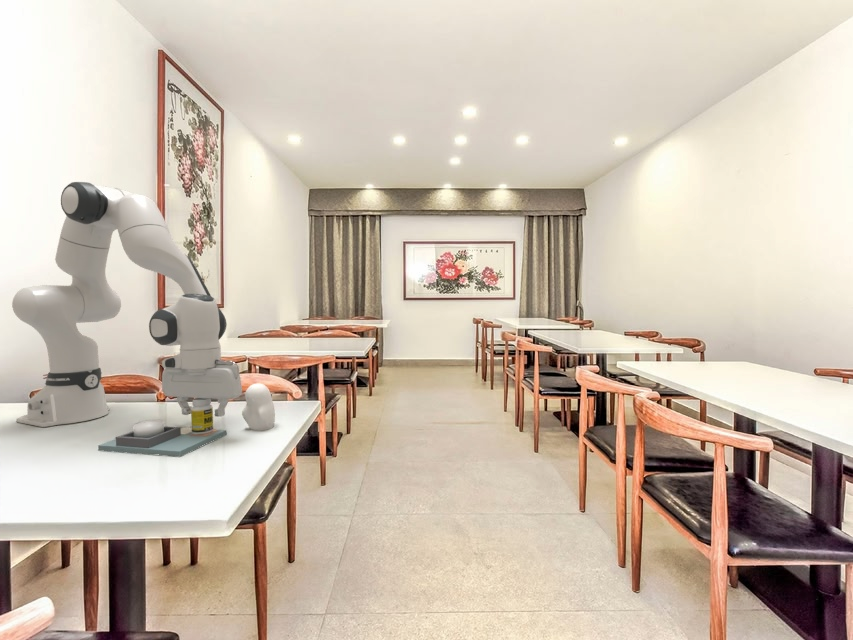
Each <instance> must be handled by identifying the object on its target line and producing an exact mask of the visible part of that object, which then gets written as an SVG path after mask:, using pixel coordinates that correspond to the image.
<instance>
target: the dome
mask: <svg viewBox="0 0 853 640" xmlns="http://www.w3.org/2000/svg"><path fill="white" fill-rule="evenodd" d="M164 426H165V421H164V420H162V419H161V420H160V419H152V420H150V419H149V420H146V421H141V422H140V421H139V422H138V423H135V424H133V425H132V428H133V429H132V431H134V437H139V438H150V437H153V436H156V435H158V434H161V433H163V432H164Z"/></svg>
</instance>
